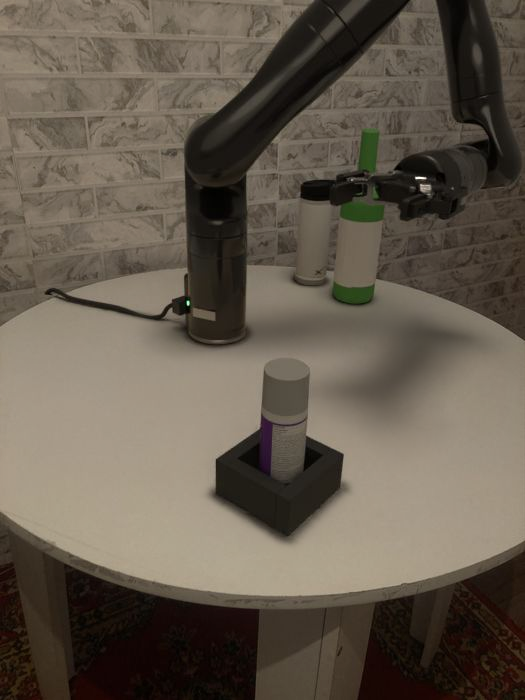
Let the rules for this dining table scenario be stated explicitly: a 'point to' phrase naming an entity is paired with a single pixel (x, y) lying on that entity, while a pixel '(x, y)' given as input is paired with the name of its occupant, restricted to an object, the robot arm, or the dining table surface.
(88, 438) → the dining table surface
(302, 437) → the container
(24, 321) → the dining table surface
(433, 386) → the dining table surface
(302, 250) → the travel mug
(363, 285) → the wine bottle
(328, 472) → the black square frame
